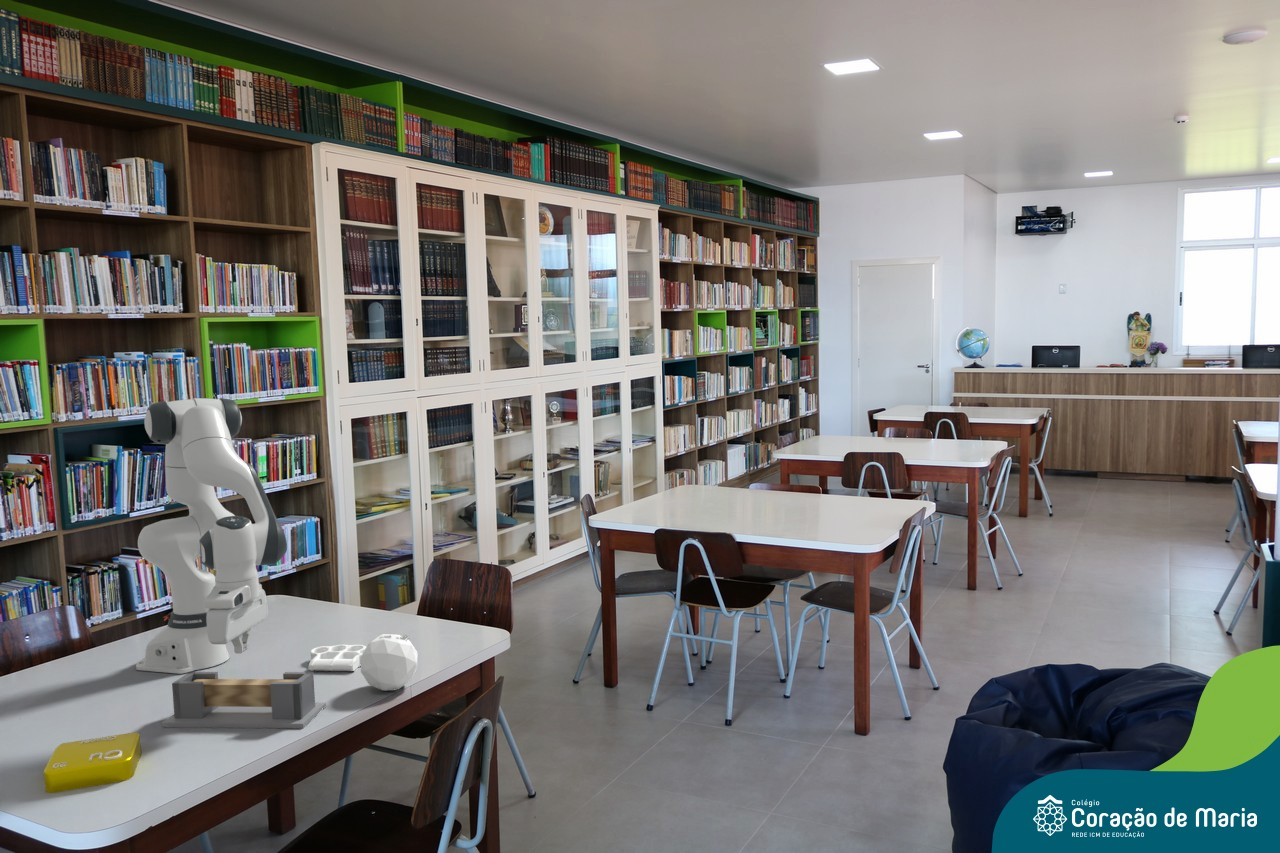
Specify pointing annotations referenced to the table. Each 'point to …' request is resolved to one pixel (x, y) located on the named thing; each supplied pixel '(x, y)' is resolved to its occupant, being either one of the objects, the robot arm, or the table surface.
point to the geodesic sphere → (389, 662)
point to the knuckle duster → (336, 658)
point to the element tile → (92, 762)
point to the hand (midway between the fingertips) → (241, 651)
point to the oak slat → (238, 692)
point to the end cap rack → (287, 711)
